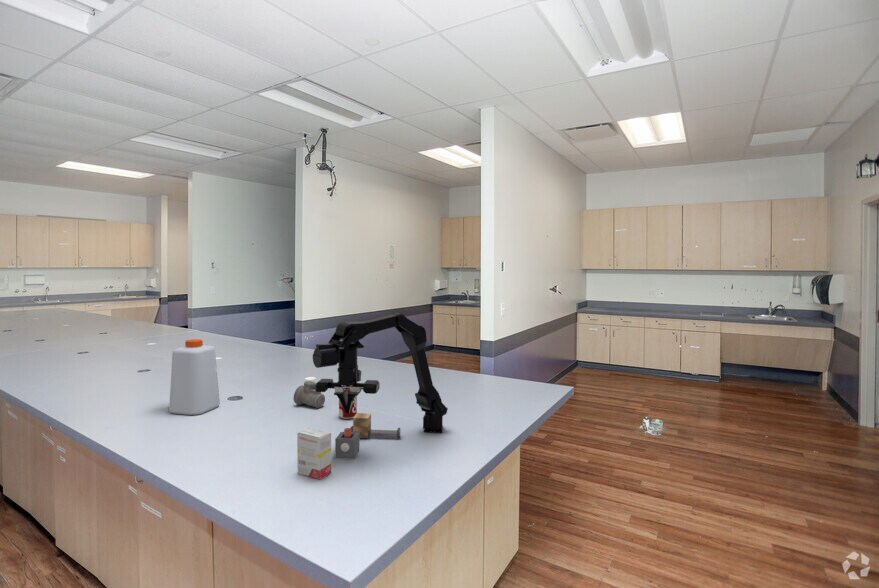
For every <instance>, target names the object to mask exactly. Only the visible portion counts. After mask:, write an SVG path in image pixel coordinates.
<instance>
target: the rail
mask: <svg viewBox="0 0 879 588" xmlns="http://www.w3.org/2000/svg"><path fill="white" fill-rule="evenodd" d="M350 428H351V432H353V425H352V426H350ZM400 438H401V427H398V428H397V430H396V429H395V430H394V429H393V430H391V429H371V430H369V432H368V438H367V439H372V440H378V439H379V440H397V441H399V440H400Z"/></svg>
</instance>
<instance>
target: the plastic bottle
mask: <svg viewBox="0 0 879 588" xmlns="http://www.w3.org/2000/svg"><path fill="white" fill-rule="evenodd" d="M203 342H204V341H203V340H202V339H201V338H200V339H199V338H197V339H196V338H195V339H194V338H193V339H187V340H185V343H184V345H185V346H180V347H177V348H174V349H173V351H172V353H171V354H172V355H171V356H172V358H171V371H170V372H171V373H170V391H169V407H168V410H169V412H170V413H171V414H175V415H187V416H197V415H202V414H204V413H207V412H209V411H211V410H214V409H216V408H217V407H219V406H220V404H221V403H220V402H221V401H220V400H221V399H220V388H219V379H218V369H217V366H218V365H217V358H216V357H217V355H216V349H215V348H216V347H214V346H213V345H204V344H203Z"/></svg>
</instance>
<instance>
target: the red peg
mask: <svg viewBox="0 0 879 588" xmlns="http://www.w3.org/2000/svg"><path fill="white" fill-rule="evenodd" d="M343 432H344V438H351V427H346V428H344V429H343Z"/></svg>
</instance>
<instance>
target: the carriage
mask: <svg viewBox="0 0 879 588" xmlns="http://www.w3.org/2000/svg"><path fill="white" fill-rule="evenodd" d="M352 420H353V421H352V423H353V424H352V426H353V432H360V439H369V438H368V432H369V430H372V413H371V412H370V413H368V412H367V413H363V412H361V413H360V412H357V414H356V415H355V416H354V418H352Z"/></svg>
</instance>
